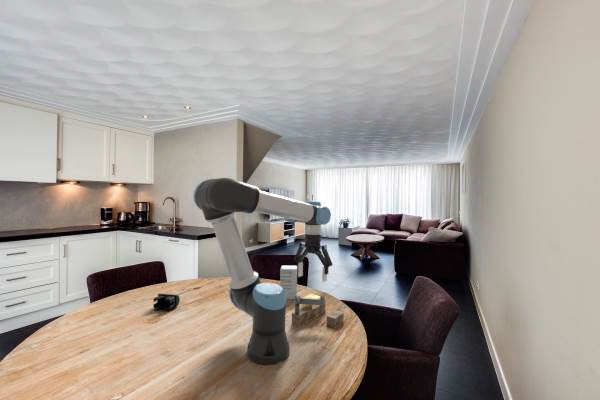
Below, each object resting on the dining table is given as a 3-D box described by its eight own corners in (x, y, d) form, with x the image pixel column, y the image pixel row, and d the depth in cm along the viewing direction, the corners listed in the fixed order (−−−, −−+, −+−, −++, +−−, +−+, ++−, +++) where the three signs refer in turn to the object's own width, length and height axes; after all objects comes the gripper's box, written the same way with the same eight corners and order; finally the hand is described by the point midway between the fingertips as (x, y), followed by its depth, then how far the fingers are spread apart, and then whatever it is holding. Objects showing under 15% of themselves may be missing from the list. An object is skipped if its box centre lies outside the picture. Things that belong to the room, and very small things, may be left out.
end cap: (179, 306, 141) (180, 293, 141) (171, 312, 134) (171, 298, 134) (161, 305, 142) (161, 292, 142) (152, 310, 135) (152, 296, 135)
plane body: (299, 327, 120) (299, 305, 120) (291, 324, 123) (292, 303, 123) (325, 311, 138) (325, 292, 138) (318, 309, 140) (318, 290, 140)
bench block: (335, 327, 120) (335, 318, 120) (326, 325, 123) (326, 316, 123) (343, 321, 127) (343, 312, 127) (335, 319, 129) (335, 310, 129)
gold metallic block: (312, 310, 126) (312, 301, 126) (301, 306, 130) (301, 298, 130) (321, 304, 133) (321, 296, 133) (310, 302, 136) (311, 293, 136)
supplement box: (296, 300, 153) (296, 269, 153) (279, 299, 153) (280, 268, 153) (296, 294, 163) (297, 265, 163) (281, 293, 163) (281, 264, 163)
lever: (293, 304, 121) (293, 295, 121) (294, 301, 124) (294, 293, 124) (324, 306, 119) (324, 297, 119) (324, 303, 122) (324, 295, 122)
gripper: (340, 235, 127) (339, 281, 127) (296, 230, 142) (295, 272, 142) (332, 236, 121) (331, 285, 121) (287, 232, 136) (286, 275, 136)
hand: (312, 278), depth 132 cm, fingers open, 13 cm apart
